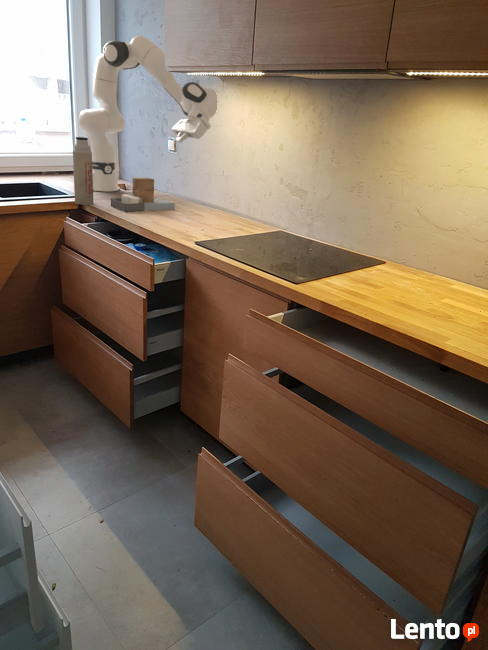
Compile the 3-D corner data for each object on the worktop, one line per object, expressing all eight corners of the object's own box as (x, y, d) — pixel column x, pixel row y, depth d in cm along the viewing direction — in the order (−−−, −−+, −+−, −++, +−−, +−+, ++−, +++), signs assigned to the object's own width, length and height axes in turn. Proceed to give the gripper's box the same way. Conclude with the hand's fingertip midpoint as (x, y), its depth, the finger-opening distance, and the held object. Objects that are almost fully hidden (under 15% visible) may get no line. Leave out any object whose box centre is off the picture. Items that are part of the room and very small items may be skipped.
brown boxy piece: (126, 199, 225) (126, 176, 221) (144, 198, 230) (144, 176, 226) (139, 204, 216) (140, 180, 213) (157, 203, 222) (158, 180, 218)
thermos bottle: (97, 203, 224) (95, 138, 213) (82, 205, 218) (79, 137, 207) (86, 200, 228) (84, 136, 217) (71, 202, 222) (68, 135, 211)
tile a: (126, 205, 225) (121, 205, 223) (126, 194, 223) (121, 194, 221) (131, 207, 222) (126, 207, 220) (132, 196, 220) (126, 196, 218)
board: (130, 205, 227) (130, 199, 226) (160, 204, 237) (161, 198, 236) (143, 210, 219) (144, 204, 218) (174, 209, 229) (174, 202, 228)
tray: (110, 206, 222) (110, 198, 220) (129, 205, 228) (129, 197, 226) (124, 212, 213) (124, 204, 211) (144, 211, 218) (144, 203, 217)
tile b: (133, 207, 221) (128, 207, 220) (133, 196, 219) (128, 196, 218) (139, 209, 218) (134, 210, 216) (139, 198, 216) (133, 198, 214)
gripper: (180, 112, 231) (161, 134, 229) (205, 115, 217) (186, 138, 215) (187, 123, 236) (169, 144, 234) (213, 127, 222) (194, 149, 220)
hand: (177, 141), depth 224 cm, fingers closed
